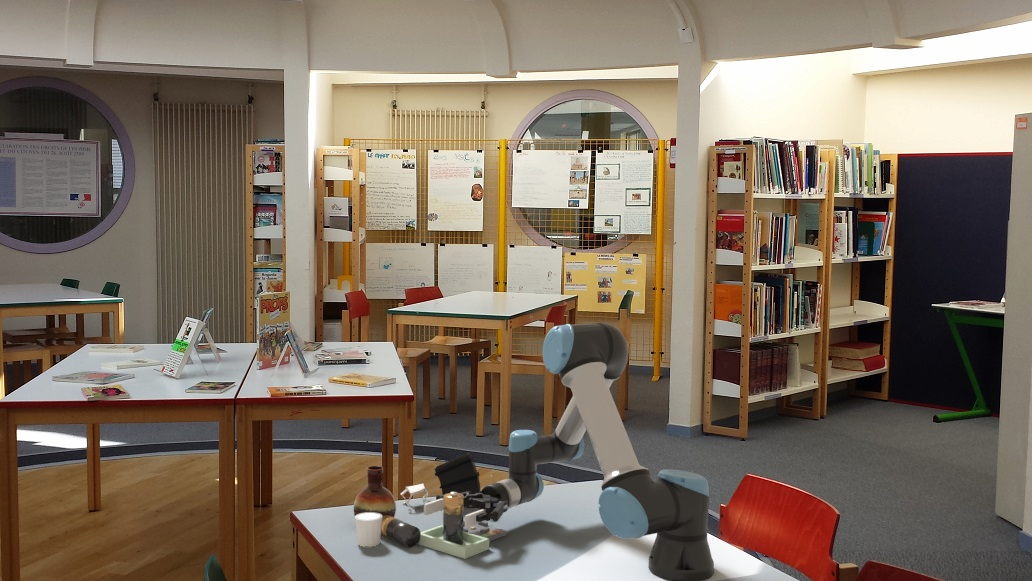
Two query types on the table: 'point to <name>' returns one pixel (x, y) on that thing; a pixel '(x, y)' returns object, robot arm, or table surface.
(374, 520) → the white cup
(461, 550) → the trough
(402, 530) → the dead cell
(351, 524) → the table surface
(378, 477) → the vase
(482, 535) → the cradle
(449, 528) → the cell
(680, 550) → the robot arm
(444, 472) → the magazine
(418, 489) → the white legged piece
